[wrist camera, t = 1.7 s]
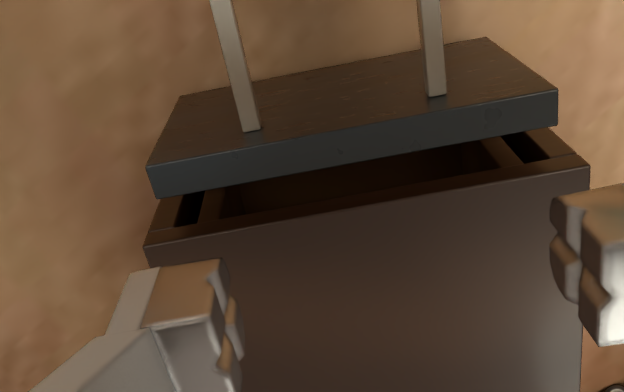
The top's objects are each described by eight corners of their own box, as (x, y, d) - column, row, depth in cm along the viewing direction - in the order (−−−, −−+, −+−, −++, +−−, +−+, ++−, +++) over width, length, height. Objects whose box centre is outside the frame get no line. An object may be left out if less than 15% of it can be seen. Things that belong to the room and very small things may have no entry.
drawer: (133, -57, 21) (73, -35, 15) (479, -128, 21) (563, -135, 14) (254, 344, 30) (247, 460, 24) (497, 302, 30) (553, 410, 24)
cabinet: (183, 138, 26) (141, 247, 18) (495, 79, 25) (591, 164, 17) (258, 380, 33) (251, 534, 25) (504, 338, 32) (576, 483, 24)
